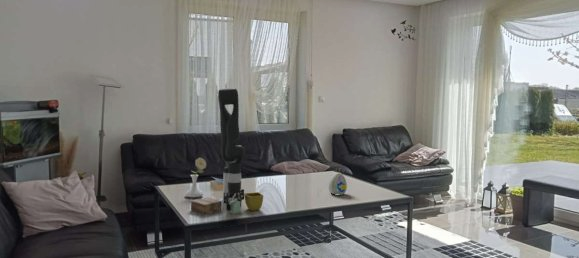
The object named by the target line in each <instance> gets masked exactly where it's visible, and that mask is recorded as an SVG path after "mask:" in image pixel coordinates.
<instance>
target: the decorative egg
mask: <svg viewBox="0 0 579 258" xmlns="http://www.w3.org/2000/svg"><path fill="white" fill-rule="evenodd" d="M347 188H348V184H347V178H346V177H345V175H344V174H342V173H341V172H335V173H333V174H332V175H331V177H330V179H329V181H328V190H329V191H328V192H329V193H330V194H331V193H332V194H344V195H345V193H346V192H347ZM332 194H331V195H332Z"/></svg>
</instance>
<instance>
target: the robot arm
mask: <svg viewBox="0 0 579 258" xmlns="http://www.w3.org/2000/svg"><path fill="white" fill-rule="evenodd" d="M238 92H239V91H238V89H237V88H235V87H229V88H228V87H227V88H220V89H218V92H217V93H218V95H217V97H218V106H219V116H220V117H219V121H220V123H219V125H220V138H221V150H220V153H221V159H222V162H229V163H228V166H225V167H224V168H223V184H222V185H223V187H222V188H223V191H222V200H223V204H225V205H226V207H225V208H226V211H227V212H228V211H230V210H231V201H233V200H236V201H240V202H241V203H240V209H241V208H242V201H243V200H244V201H245V195H244V194H245V189H243V188H242V164H243V160H244V157H245V147H244V146H242V145H241V144H237V145H236V144H235V145H234V143H235V142H237V141H238V142H239V141H240V138H241V136H240V127H239V126H240V125H239V115H240V114H239V112H240V110H239V109H240V108H239V107H240V104H239V102H240V101H239V93H238ZM228 105H229V106H230V105H232V111H231V113H230V112H229V111H228V109H227V108H226V106H228Z"/></svg>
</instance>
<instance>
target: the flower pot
mask: <svg viewBox="0 0 579 258" xmlns="http://www.w3.org/2000/svg"><path fill="white" fill-rule="evenodd" d="M244 201H245V205H246V207H247V209H248V210H249V211H252V212H253V211H260V209H261V208H262V206H263V202H264V195H263V194H261V192H258V191H257V192H247V193H245V192H244Z"/></svg>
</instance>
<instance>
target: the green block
mask: <svg viewBox="0 0 579 258" xmlns="http://www.w3.org/2000/svg"><path fill="white" fill-rule="evenodd" d="M240 203H241V204H242V201H241V202H240V201H238V200H233V201H231V210H230V211H227V213H230V214H238V213H241V208H240Z"/></svg>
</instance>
